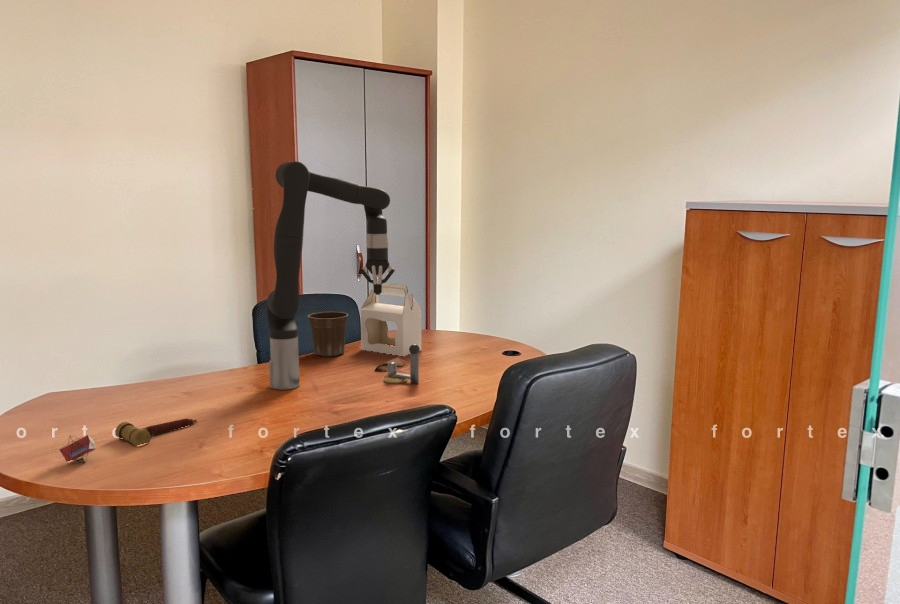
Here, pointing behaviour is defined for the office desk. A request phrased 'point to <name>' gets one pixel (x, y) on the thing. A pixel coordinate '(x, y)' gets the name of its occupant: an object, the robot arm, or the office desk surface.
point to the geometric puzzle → (78, 448)
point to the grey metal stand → (400, 377)
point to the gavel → (148, 430)
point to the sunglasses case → (399, 361)
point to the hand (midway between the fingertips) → (377, 294)
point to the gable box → (379, 313)
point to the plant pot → (328, 332)
